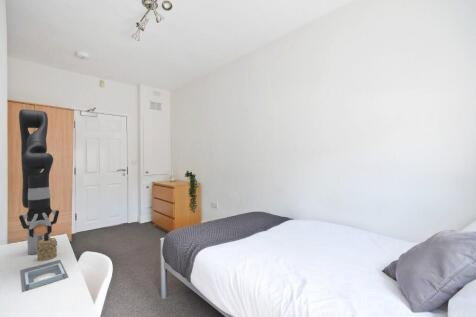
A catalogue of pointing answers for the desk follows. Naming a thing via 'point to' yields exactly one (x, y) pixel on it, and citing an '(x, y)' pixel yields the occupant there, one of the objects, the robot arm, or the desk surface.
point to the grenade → (46, 248)
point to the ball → (40, 230)
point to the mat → (39, 274)
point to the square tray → (44, 276)
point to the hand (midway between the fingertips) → (40, 235)
